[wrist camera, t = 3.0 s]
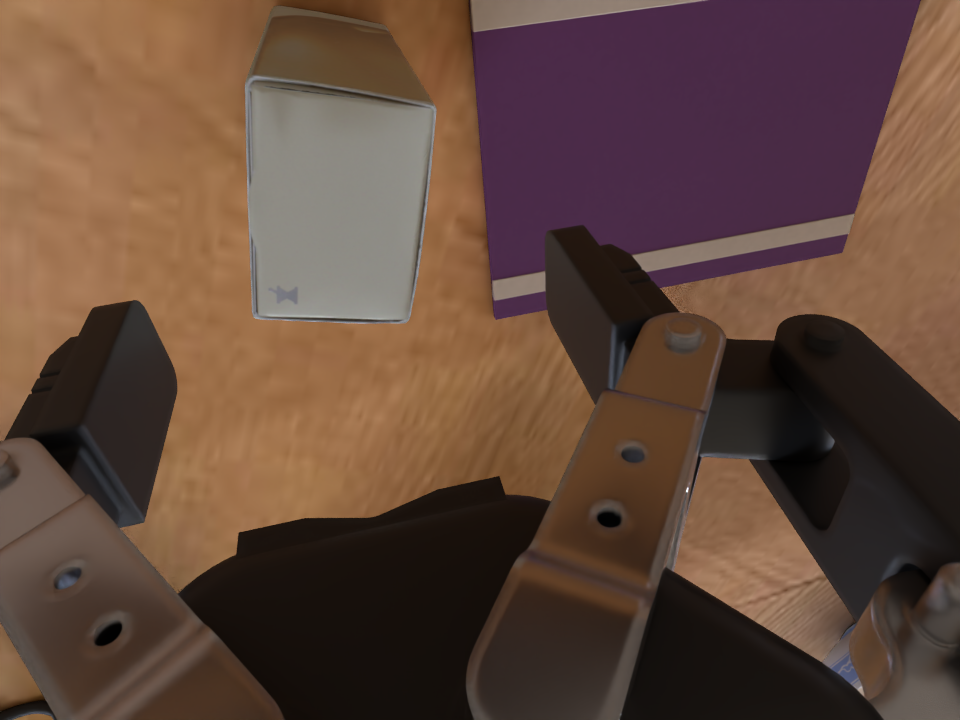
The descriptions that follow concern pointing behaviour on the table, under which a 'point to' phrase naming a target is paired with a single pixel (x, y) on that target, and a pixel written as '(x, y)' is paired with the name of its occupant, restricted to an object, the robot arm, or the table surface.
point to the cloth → (678, 129)
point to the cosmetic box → (335, 170)
